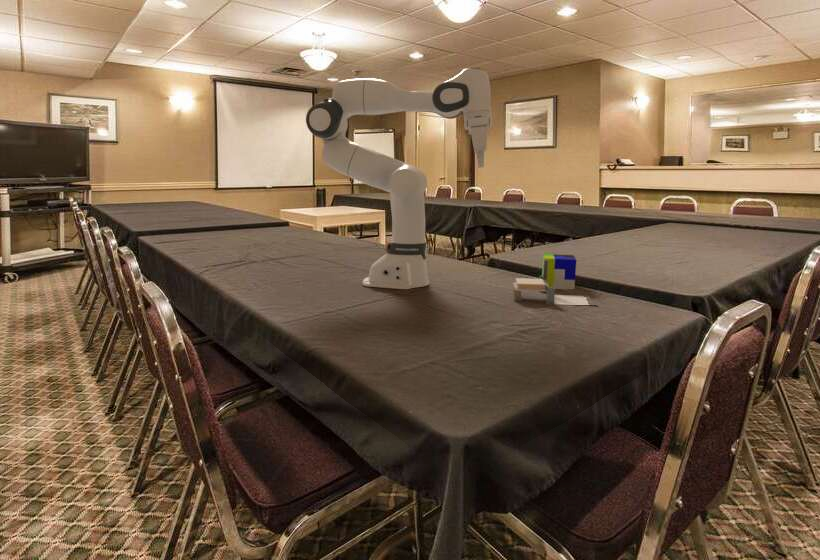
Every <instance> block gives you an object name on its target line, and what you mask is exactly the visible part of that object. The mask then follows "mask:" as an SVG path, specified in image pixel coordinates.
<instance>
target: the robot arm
mask: <svg viewBox="0 0 820 560" xmlns="http://www.w3.org/2000/svg"><path fill="white" fill-rule="evenodd" d="M491 94H492V93H491V82H490V77H489V74H488V72H486V70H485V69H483V68H479V67H467V68H464V69H462V71H461V72H460V73H458V74H457V75H455V76H454V77H452V78H450V79H449V80H446V81H444V82H440V83H439V84H438V85H437V86H436V87H435V88H434V90H433V91H415V90H406V89H404V88H401V87H398V86H397V85H395V84H394V83H391V82H389V81H387V80H383V79H377V78H363V77H362V78H351V79H345V80H340V81H338V82H337V83H335V84H334V86H333V88H332V93H331V95H332V96H331V97H327V98H324V99H323V100H321V101H319V102H317V103H316V104H313V105H312V106H311V107H310V108H309V109H308V111H307V113H306V115H305V123H306V127H307V129H308V130H309V132H310V133H311V134H312V135H313V136H315V137H317V138H320V139H321V140H322V143H323V147H322V150H321V159H322V161H323V163H324V164H325V165H326V166H328V167H329V168H331V169H332V170H334V171H336V172H337V173H340V174H342V175H343V176H345V177H348V178H350V179H352V180H355V181H358V182H361V183H362V184H365V185H368V186H369V187H373V188H375V189H379V190H382V191H385V192H386V193H387V192H388V193H389V198H390V202H389V203H390V208H391V209H390V210H391V211H390V212H391V220H392V221H391V241H388V242H387V243H386V246H385V251H386V253H385V254H383V255H382V256H381V257H379V258H378V259H377V260H376V261H375V262H373V264H372V265H371V266H370V269H369V274H368V276H367V277H365V278H364V279H363V280H362V286H364V287H371V288H372V287H373V288H384V289H396V290H411V289H415V288H420V287H422V288H423V287H426V286H428V285H430V281H429V277H428V271H427V270H428V269H427V261H426V259H427V252H428V251H427V250H428V248H427V247H428V246H427V242H426V211H425V210H426V208H425V207H426V206H425V204H426V203H425V192H426V191H427V187H428V177H427V175H426V174H425V172H424V171H423V170H422V169H421V168H419V167H417V166H415V165H411V164H409V163H407V162H404V161H401V160H399V159H397V158H394V157H391V156H389V155H387V154H384V153H381V152H379V151H376V150H374V149H371V148H369V147H367V146H364V145H361V144H359V143H356V142H354V141H352V140H350V139H349V134H350V133H349V132H350V121H349V118H350V117H353V116H357V115H360V116H361V115H362V116H363V115H364V116H377V115H386V114H392V113H400V112H417V113H418V112H422V113H423V112H424V113H434V114H436V115H438V116H440V117H441V118H445V119H448V120H450V119H456V118H459V117H460V116H461V115H462V114H463V123H464V124H463V126H464V130H465V131H468V135H470V136H471V141H472V146H473V150H474V151H473V152H474V154H476V159H477V167H478V168H484V167H485V153H486V151H487V145H488V133H489V132H490V129H489V128H492V127H494V126H493V125H494V124H493V123H494V122H493V112H492V107H491V97H492V95H491Z"/></svg>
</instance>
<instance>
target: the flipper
mask: <svg viewBox="0 0 820 560" xmlns="http://www.w3.org/2000/svg"><path fill="white" fill-rule="evenodd" d="M542 265H543V281H544V283H545V284H546V286H545V290H538V289H517V286H516V284H515V282H512V287H513V286H514V289H515V290H517V291H521V292H525V291H526V292H540V291H546V292H545V293H547V287H549V285H548V283H547V282H546V281H547V265H548V261H547V260H544V264H543V263H542Z"/></svg>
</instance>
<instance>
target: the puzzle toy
mask: <svg viewBox="0 0 820 560" xmlns="http://www.w3.org/2000/svg"><path fill="white" fill-rule="evenodd" d="M544 260H547V261H548V265H547V283H548V285H549V287H554V288H555V290H567V289H574V290H575V283H576V270H577V259H576V257H575V255H573V254H555V253H554V254H553V253H552V254H551V253H543V254H542V267H541V276H543V264H544Z"/></svg>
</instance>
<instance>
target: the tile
mask: <svg viewBox="0 0 820 560" xmlns="http://www.w3.org/2000/svg"><path fill="white" fill-rule="evenodd" d="M514 283H515V284H516V286H517V289H538V290H545V286H546V284H545V283H544V281H543V279H540V278H525V277H524V278H523V277H522V278H521V277H520V278H519V277H518V278H517V277H516V278H515V282H514Z"/></svg>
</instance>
